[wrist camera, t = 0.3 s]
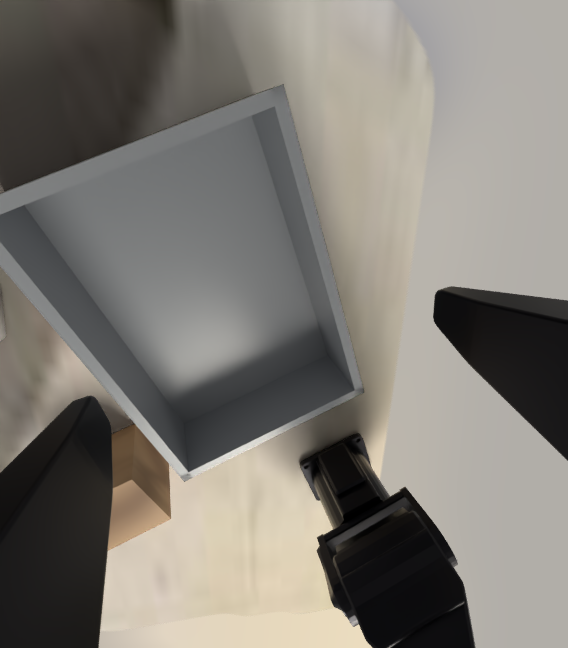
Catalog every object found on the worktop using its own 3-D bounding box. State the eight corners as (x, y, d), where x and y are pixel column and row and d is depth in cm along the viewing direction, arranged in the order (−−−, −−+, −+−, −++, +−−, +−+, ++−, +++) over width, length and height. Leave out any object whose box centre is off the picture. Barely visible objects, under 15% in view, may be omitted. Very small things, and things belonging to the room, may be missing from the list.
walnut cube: (168, 461, 28) (171, 518, 24) (109, 490, 28) (101, 554, 24) (135, 422, 26) (131, 479, 21) (69, 453, 25) (52, 518, 21)
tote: (333, 353, 28) (364, 392, 24) (179, 426, 27) (184, 481, 23) (254, 94, 18) (283, 84, 14) (3, 191, 17) (-46, 212, 13)
